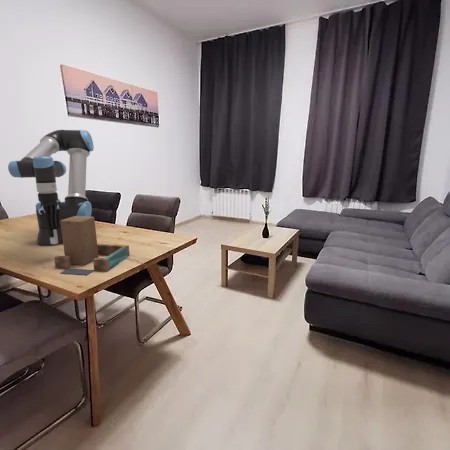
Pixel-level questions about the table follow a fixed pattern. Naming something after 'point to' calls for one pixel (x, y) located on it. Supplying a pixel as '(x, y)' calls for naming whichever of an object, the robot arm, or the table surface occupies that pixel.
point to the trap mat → (77, 271)
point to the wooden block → (79, 239)
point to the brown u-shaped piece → (100, 264)
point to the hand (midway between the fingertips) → (54, 243)
